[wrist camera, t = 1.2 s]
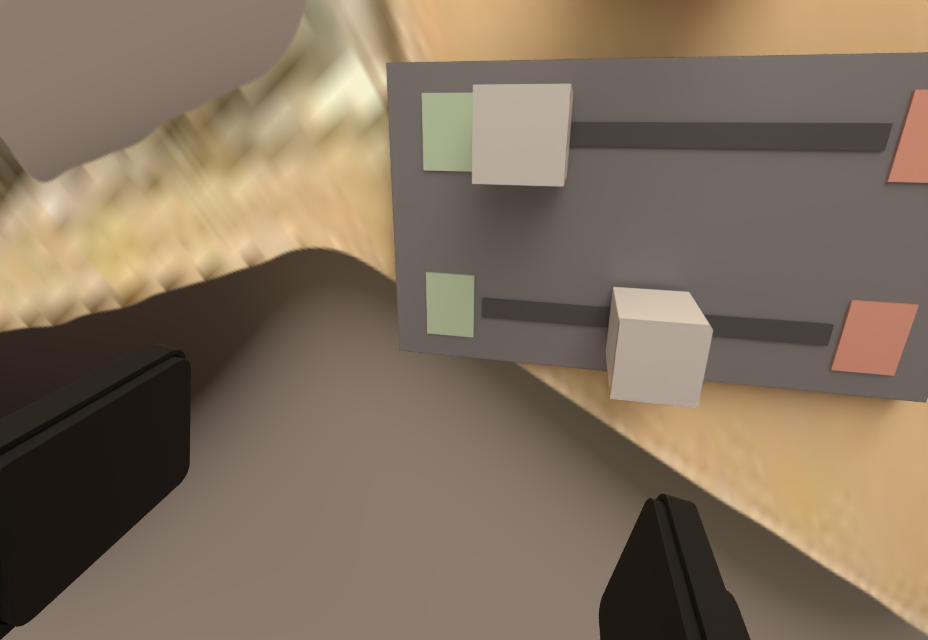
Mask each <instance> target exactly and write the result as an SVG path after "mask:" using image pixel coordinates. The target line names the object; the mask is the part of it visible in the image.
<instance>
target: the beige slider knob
mask: <svg viewBox="0 0 928 640" xmlns="http://www.w3.org/2000/svg"><path fill="white" fill-rule="evenodd" d="M712 334H713V329H712V327H711V326H710V324H709V323H708V321H707V319H706V318H705V316H704V315H703V313H702V311H701V310H700V308H699V307H698V305H697V304H696V302H695V300H694V299H693V297H692V296H691V294H690V292H684V291H669V290H654V289H639V288H624V287H613V292H612V301H611V309H610V318H609V326H608V335H607V343H606V362H607V372H608V382H609V392H610V399H617V400H626V401H635V402H644V403H653V404H663V405H672V406H681V407H690V408H698V404H699V399H700V394H701V389H702V384H703V379H704V374H705V369H706V364H707V359H708V354H709V349H710V344H711V339H712Z"/></svg>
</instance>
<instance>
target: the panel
mask: <svg viewBox="0 0 928 640" xmlns="http://www.w3.org/2000/svg"><path fill="white" fill-rule="evenodd" d="M386 67H387V89H388V111H389V133H390V155H391V177H392V199H393V221H394V242H395V264H396V286H397V307H398V330H399V350H400V351H409V352H419V353H430V354H440V355H450V356H460V357H470V358H480V359H490V360H500V361H510V362H520V363H531V364H541V365H551V366H561V367H571V368H581V369H591V370H601V371H607V362H606V343H607V335H608V326H609V318H610V309H611V301H612V292H613V287H624V288H639V289H654V290H669V291H684V292H690V294H691V296H692V297H693V299H694V300H695V302H696V304H697V305H698V307H699V308H700V310H701V311H702V313H703V315H704V316H705V318H706V319H707V321H708V323H709V324H710V326H711V327H712V329H713V334H712V339H711V344H710V349H709V354H708V359H707V364H706V369H705V374H704V379H703V381H712V382H723V383H733V384H743V385H753V386H763V387H773V388H783V389H793V390H803V391H814V392H824V393H834V394H844V395H854V396H864V397H874V398H884V399H894V400H904V401H915V402H925V403H926V400H927V398H928V52H924V53H872V54H821V55H769V56H717V57H665V58H614V59H562V60H510V61H458V62H407V63H386ZM484 84H571V85H572V88H573V104H572V117H571V131H570V144H569V157H568V170H567V177H566V180H565V183H564V186H563V187H562V186H529V185H495V184H472V127H473V85H484Z"/></svg>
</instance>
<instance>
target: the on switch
mask: <svg viewBox="0 0 928 640" xmlns="http://www.w3.org/2000/svg"><path fill="white" fill-rule="evenodd" d="M572 104H573V88H572V85H571V84H484V85H473V127H472V184H495V185H529V186H562V187H563V186H564V183H565V180H566V177H567V170H568V157H569V144H570V131H571V117H572Z"/></svg>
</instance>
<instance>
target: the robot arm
mask: <svg viewBox="0 0 928 640" xmlns="http://www.w3.org/2000/svg"><path fill="white" fill-rule="evenodd" d="M190 387H191V366H190V362H189V361H188V360H186V358H185V355H184V353H183V352H182V351H181V350H178V349H175V348H172V347H168V346H165V345H162V344H158V343H149V344H147V345H145V346H143V347H141V348H139V349H137V350H135V351H133V352H131V353H129V354H127V355H125V356H123V357H121V358H119V359H117V360H115V361H113V362H111V363H109V364H108V365H105V366H103V367H101V368H100V369H98V370H96V371H94V372H92V373H90V374H88V375H86V376H84V377H82V378H80V379H78V380H76V381H74V382H72V383H70V384H68V385H66V386H64V387H62V388H60V389H59V390H57V391H54V392H53V393H51V394H49V395H47V396H45V397H43V398H41V399H39V400H37V401H35V402H33V403H31V404H29V405H27V406H25V407H23V408H21V409H19V410H17V411H15V412H13V413H11V414H9V415H8V416H6V417H4V418H2V419H0V640H1V639H2V638H3V637H4V636H5V635H6V634H8V633H9V632H10V631H11V630H12V629H13V628H14V627H15V626H16V627H18V626H23V625H24V624H26V623H28V622H29V621H31V620H32V619H33V618H34V617H35V616H37V615H38V614H39V613H40V612H41V611H42V610H43V609H44V608H45V607H46V606H47V605H48V604H50V603H51V602H52V601H53V600H54V599H55V598H56V597H57V596H58V595H59V594H61V593H62V592H63V591H64V590H65V589H66V588H67V587H68V586H69V585H70V584H71V583H72V582H74V581H75V579H77V578H78V577H79V576H80V575H81V574H82V573H83V572H84V571H85V570H87V569H88V568H89V567H90V566H91V565H92V564H93V563H94V562H95V561H96V560H97V559H99V558H100V557H101V556H102V555H103V554H104V553H105V552H106V551H107V550H108V549H109V548H111V546H112V545H114V544H115V543H116V542H117V541H118V540H119V539H120V538H121V537H122V536H124V535H125V534H126V533H127V532H128V531H129V530H130V529H131V528H132V527H133V526H134V525H136V524H137V523H138V522H139V521H140V520H141V519H142V518H143V517H144V516H145V515H146V514H147V513H148V512H150V511H151V510H152V509H153V508H154V507H155V506H156V505H157V504H158V503H159V502H160V501H161V500H163V499H164V498H165V497H166V496H167V495H168V494H169V493H170V492H171V491H172V490H174V489H175V488H176V487H177V486H178V485H179V484H180V483H181V482H182V481H183V479H184V478H185V476H186V474H187V472H188V469H189V464H190V462H189V461H190V395H191V394H190V393H191V388H190ZM599 627H600V640H750V637H749V634H748V632H747V629H746V626H745V624H744V621H743V619H742V616H741V613H740V610H739V608H738V605H737V603H736V601H735V599H734V597H733V595H732V594H731V593H729V592H728V591H727V590H726V588H725V586H724V583H723V580H722V577H721V574H720V572H719V569H718V566H717V563H716V561H715V558H714V555H713V552H712V549H711V547H710V544H709V541H708V538H707V535H706V533H705V530H704V527H703V524H702V521H701V519H700V516H699V513H698V510H697V508H696V506H695V504H694V503H692V502H689V501H686V500H683V499H679V498H676V497H673V496H669V495H666V494H660V495H659V496H658V497H657V499H656V500H655V499H652V498H649V499H648V500H647V501H646V502H645V504H644V506H643V508H642V511H641V513H640V515H639V517H638V519H637V522H636V524H635V526H634V528H633V530H632V533H631V535H630V537H629V539H628V541H627V543H626V546H625V548H624V550H623V552H622V554H621V557H620V559H619V561H618V563H617V566H616V567H615V570H614V572H613V574H612V576H611V578H610V581H609V583H608V585H607V587H606V589H605V592H604V594H603V596H602V599H601V602H600V608H599Z"/></svg>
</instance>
